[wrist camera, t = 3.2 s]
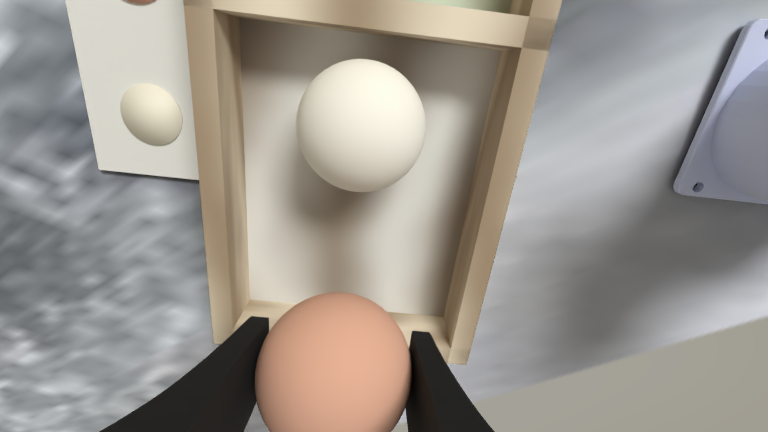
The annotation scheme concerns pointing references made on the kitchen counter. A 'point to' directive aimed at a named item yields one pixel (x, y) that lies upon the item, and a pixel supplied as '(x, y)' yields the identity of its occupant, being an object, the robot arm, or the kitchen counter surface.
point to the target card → (136, 84)
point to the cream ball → (361, 125)
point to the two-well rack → (361, 209)
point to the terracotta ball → (333, 368)
